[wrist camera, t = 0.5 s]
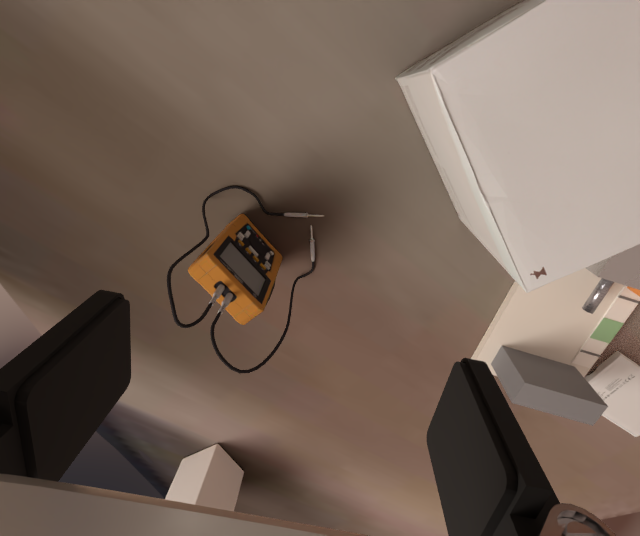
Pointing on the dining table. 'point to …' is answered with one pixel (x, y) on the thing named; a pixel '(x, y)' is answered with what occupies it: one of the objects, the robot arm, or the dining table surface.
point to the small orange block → (634, 290)
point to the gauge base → (554, 344)
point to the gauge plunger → (614, 275)
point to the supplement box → (539, 132)
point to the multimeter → (238, 272)
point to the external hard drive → (619, 391)
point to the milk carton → (207, 480)
